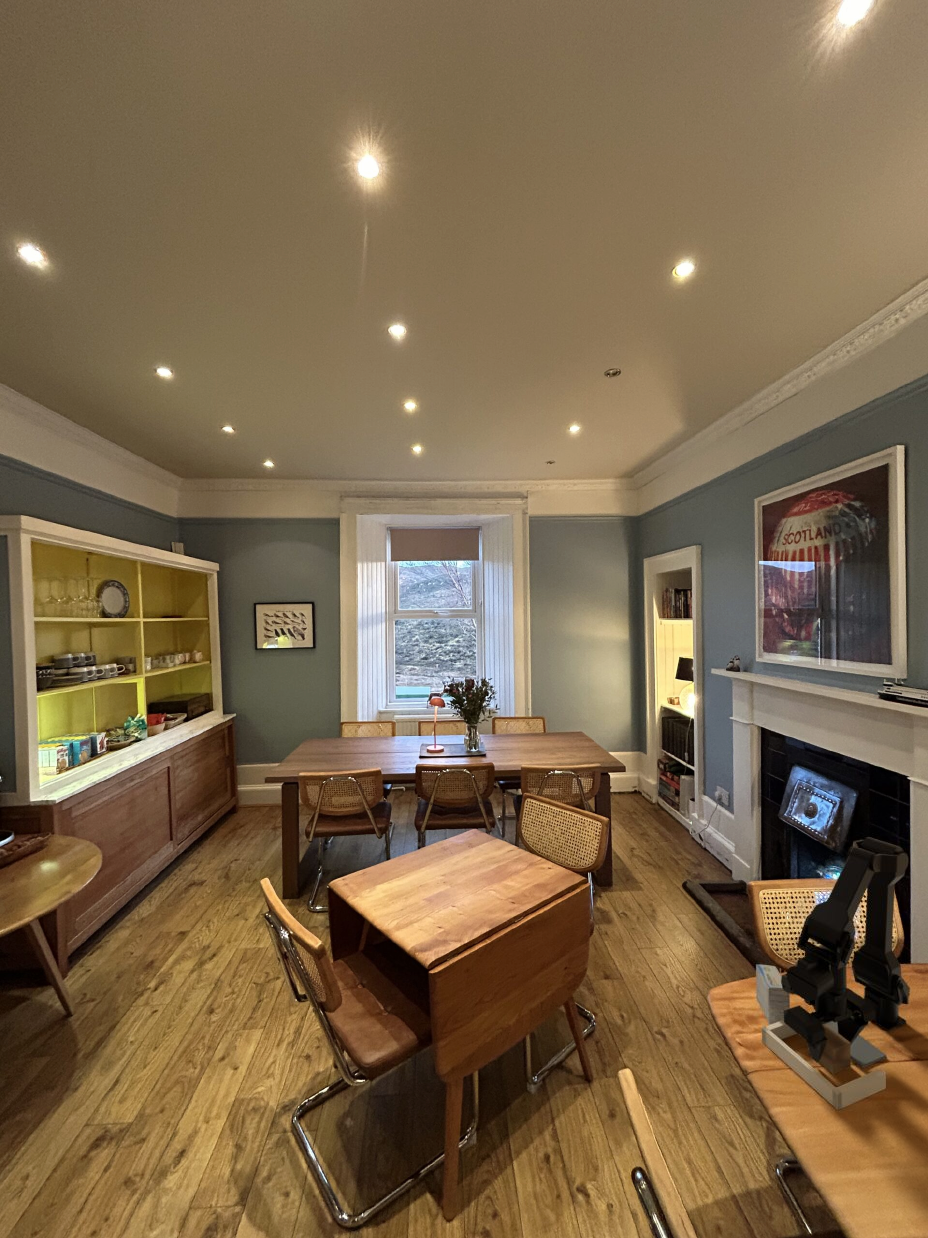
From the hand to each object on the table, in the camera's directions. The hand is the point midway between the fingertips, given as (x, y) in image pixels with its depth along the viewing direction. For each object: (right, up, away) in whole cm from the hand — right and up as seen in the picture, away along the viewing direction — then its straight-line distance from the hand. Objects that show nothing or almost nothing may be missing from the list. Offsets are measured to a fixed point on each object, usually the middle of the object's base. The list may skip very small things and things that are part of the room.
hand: (829, 1055), depth 105 cm
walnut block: (0, -1, 0) cm, 1 cm away
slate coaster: (+7, -1, +4) cm, 8 cm away
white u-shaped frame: (-2, -1, -1) cm, 3 cm away
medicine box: (-4, -1, +12) cm, 13 cm away
